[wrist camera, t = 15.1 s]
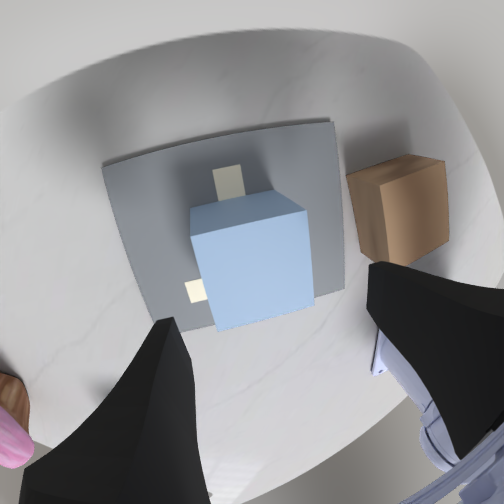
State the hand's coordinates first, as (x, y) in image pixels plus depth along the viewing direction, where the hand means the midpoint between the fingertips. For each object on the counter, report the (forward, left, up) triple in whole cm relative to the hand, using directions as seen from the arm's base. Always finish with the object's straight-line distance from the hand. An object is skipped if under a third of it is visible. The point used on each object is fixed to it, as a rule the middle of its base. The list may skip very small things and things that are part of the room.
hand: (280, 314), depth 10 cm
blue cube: (0, 0, -8) cm, 8 cm away
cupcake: (+27, +10, -9) cm, 30 cm away
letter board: (0, 0, -9) cm, 9 cm away
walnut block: (-11, 0, -9) cm, 14 cm away
